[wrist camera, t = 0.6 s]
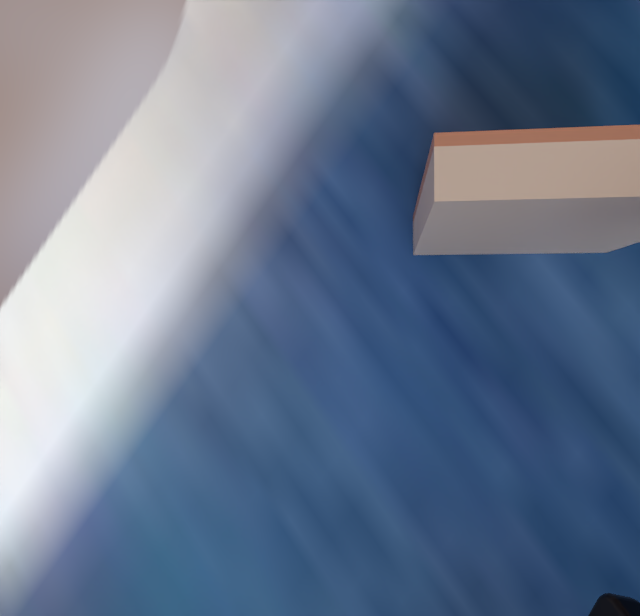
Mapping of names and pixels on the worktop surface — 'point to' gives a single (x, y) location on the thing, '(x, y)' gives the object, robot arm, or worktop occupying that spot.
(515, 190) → the tile
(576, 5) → the worktop surface
